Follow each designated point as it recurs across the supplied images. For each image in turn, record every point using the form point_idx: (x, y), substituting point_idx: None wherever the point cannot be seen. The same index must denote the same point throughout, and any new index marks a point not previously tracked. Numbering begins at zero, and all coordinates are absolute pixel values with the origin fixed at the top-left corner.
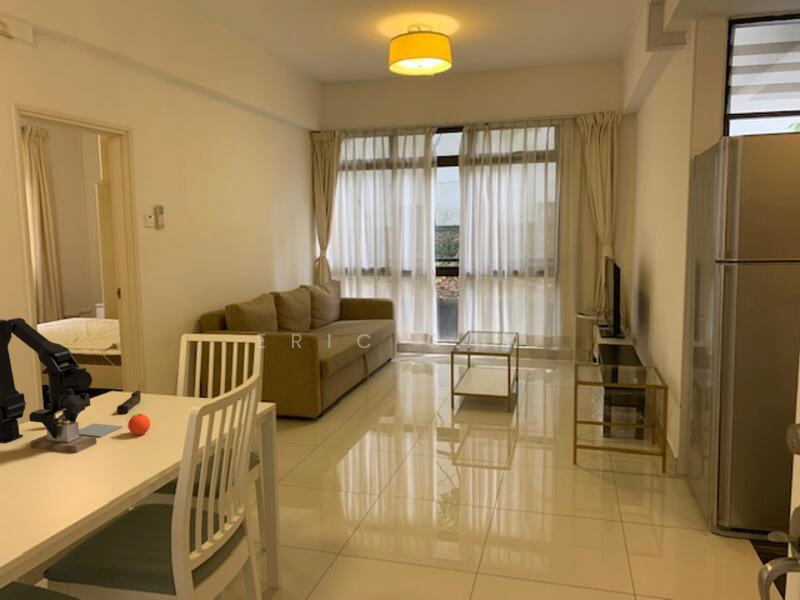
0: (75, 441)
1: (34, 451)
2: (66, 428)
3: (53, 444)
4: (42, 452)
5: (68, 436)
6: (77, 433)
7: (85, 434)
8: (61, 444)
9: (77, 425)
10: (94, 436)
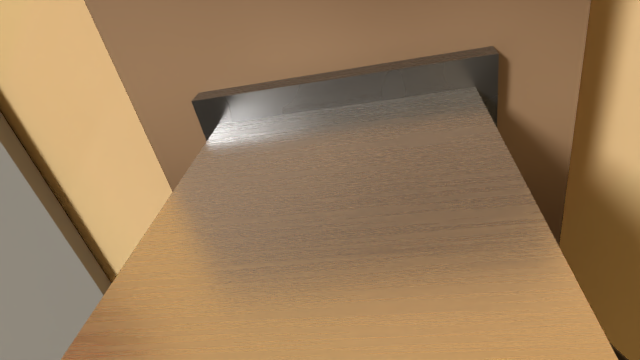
0: (357, 28)
1: (606, 315)
2: (575, 310)
3: (556, 236)
4: (625, 237)
5: (471, 137)
6: (227, 156)
7: (71, 246)
8: (557, 123)
9: (134, 288)
10: (9, 133)
